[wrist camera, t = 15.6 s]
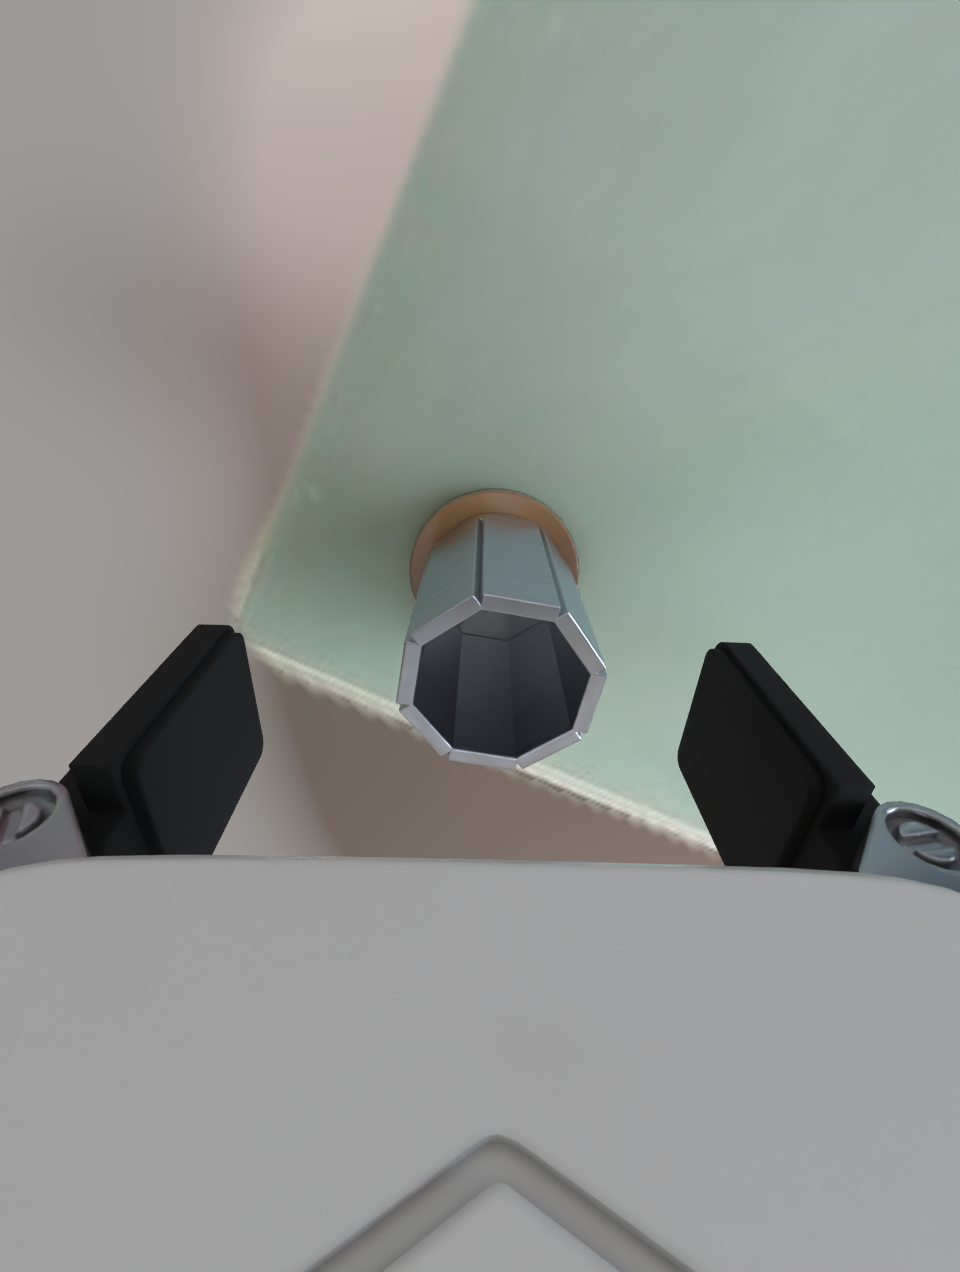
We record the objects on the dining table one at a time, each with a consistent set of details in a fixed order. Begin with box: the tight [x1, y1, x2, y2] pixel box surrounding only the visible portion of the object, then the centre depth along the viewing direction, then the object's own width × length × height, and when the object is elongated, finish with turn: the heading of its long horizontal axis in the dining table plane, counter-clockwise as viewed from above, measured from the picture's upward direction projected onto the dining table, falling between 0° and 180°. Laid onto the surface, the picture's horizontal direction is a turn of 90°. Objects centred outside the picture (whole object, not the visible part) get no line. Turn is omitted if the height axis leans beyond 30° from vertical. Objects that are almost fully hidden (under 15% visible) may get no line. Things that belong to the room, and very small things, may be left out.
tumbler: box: [396, 513, 607, 770], centre depth 15 cm, size 5×5×6 cm
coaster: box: [410, 489, 579, 599], centre depth 18 cm, size 6×6×1 cm
